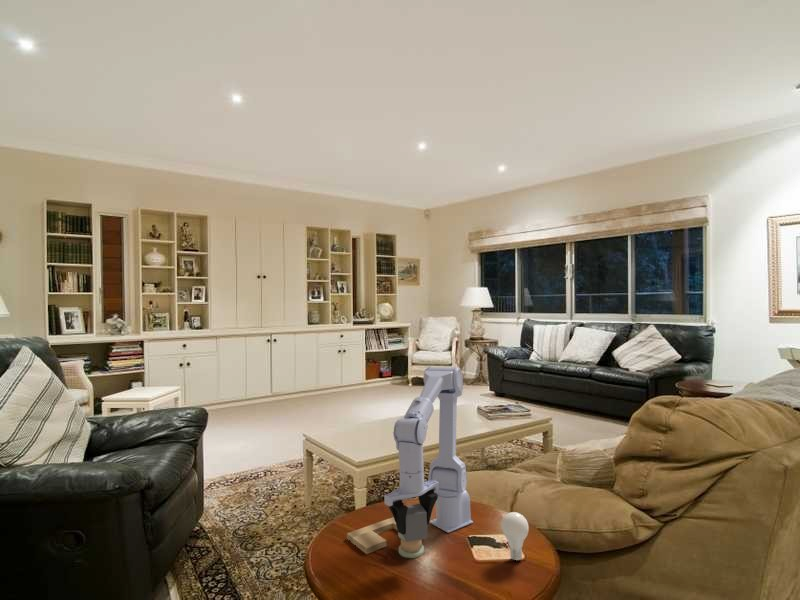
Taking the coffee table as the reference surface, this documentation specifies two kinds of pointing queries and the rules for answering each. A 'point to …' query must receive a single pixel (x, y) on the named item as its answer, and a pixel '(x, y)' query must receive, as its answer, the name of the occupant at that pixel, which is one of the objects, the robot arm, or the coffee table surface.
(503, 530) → the lightbulb
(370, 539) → the notched board
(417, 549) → the bobbin
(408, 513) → the block
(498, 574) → the coffee table surface
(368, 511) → the coffee table surface
